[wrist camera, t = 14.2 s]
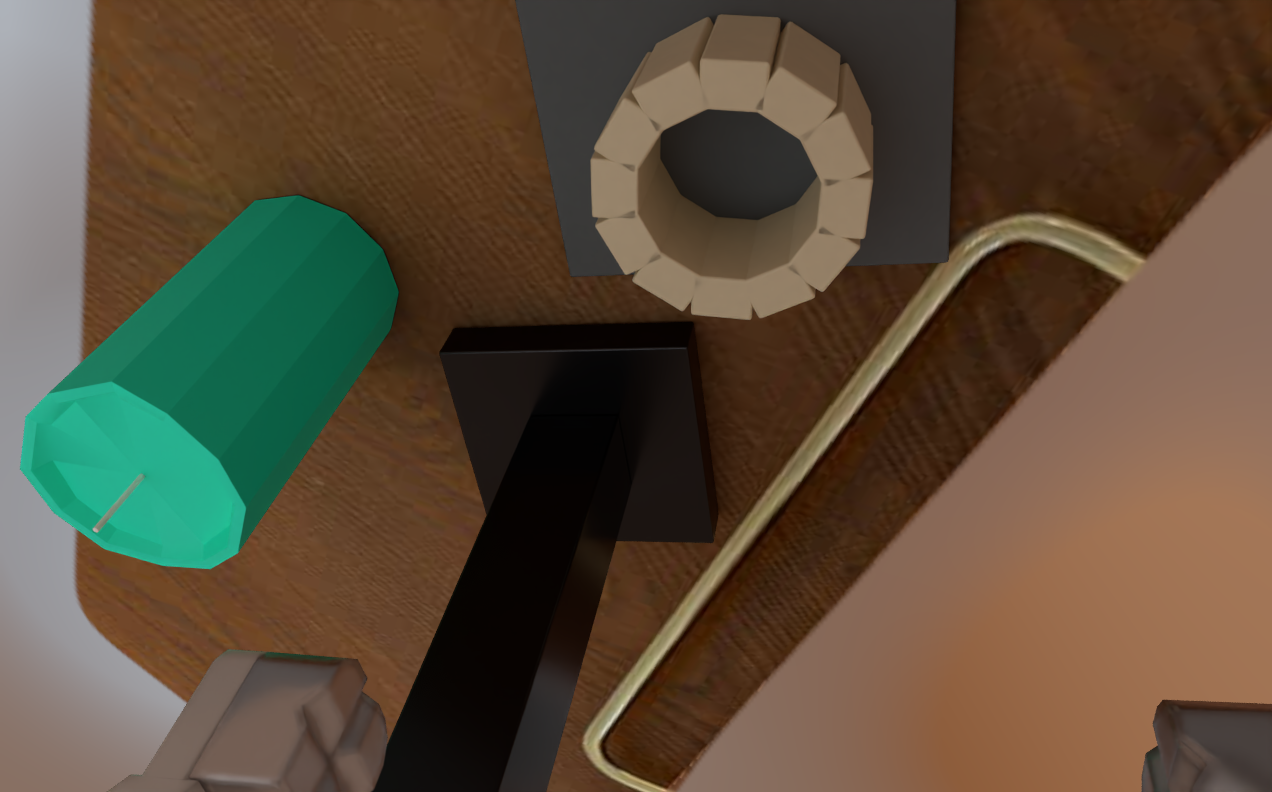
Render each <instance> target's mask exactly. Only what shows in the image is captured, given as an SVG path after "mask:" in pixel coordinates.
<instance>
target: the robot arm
mask: <svg viewBox="0 0 1272 792" xmlns="http://www.w3.org/2000/svg"><path fill="white" fill-rule="evenodd" d="M366 681H367V676H366V675H365V673H364V671H363V669H362V667H361V665H360V663H359V661H358V659H351V658H338V657H325V656H313V655H300V654H287V653H274V652H262V651H245V650H227V651H225V652H224V653H223V654H222V655H220V656H219V657H218V658H216V659H215V660H214V661H213V663H212V664H211V666H210V667H209V669H208V671H207V672H206V674H205V675H204V677H203V679H202V680H201V682H200V683H199V685H198V687H197V688H196V690H195V692H194V693H193V695H192V696H191V698H190V700H189V701H188V703H187V704H186V706H185V708H184V709H183V711H182V713H181V714H180V716H179V717H178V719H177V720H176V722H175V724H174V725H173V727H172V729H171V730H170V732H169V733H168V735H167V737H166V738H165V740H164V742H163V743H162V745H161V746H160V748H159V749H158V751H157V753H156V754H155V756H154V758H153V759H152V761H151V762H150V764H149V765H148V767H147V769H146V770H145V772H144V774H143V775H129V776H128V777H127V778H125V779H124V780H122V781H121V782H120V783H118V784H117V785H116V786H114V787H113V788H111V789H110V790H109V791H107V792H371V791H372V790H373V789H374V788H375V785H376V783H377V780H378V778H379V775H380V773H381V770H382V768H383V765H384V759H385V752H386V745H387V738H388V737H387V729H386V722H385V717H384V715H383V713H382V710H381V708H380V705H379V704H378V703H377V702H375V701H374V700H373V699H371V698H370V697H369V696H367V695H366V694H365V693H363V692H362V689H363V687H364V685H365V683H366ZM1153 727H1154V731H1155V735H1156V740H1157V744H1158V746H1156V747H1155V748H1153V749H1152V750H1150V751H1149V752H1147V753H1146V755H1145V761H1144V766H1143V772H1142V792H1272V704H1257V703H1231V702H1206V701H1180V700H1162V702H1161V703H1160V704H1159V705H1158V706H1157V709H1156V713H1155V717H1154V721H1153Z"/></svg>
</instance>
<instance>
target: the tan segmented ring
mask: <svg viewBox="0 0 1272 792" xmlns="http://www.w3.org/2000/svg"><path fill="white" fill-rule="evenodd" d="M780 26H781V20H780V18H778V17H761V16H742V15H723V14H721V15H718V17H717V19H716V22H715V24H714V25H713V23H712V21H711V19H710V18H709V17H706V18H704V19H702V20H700V21H698V22H696V23H694V24H692V25H691V26H689V27H687V28H685V29H683V30H681V31H679V32H677V33H675V34H673V35H672V36H670V37H668V38H666V39H664V40H662V41H660V42H658V43H657V44H656V45H655V47H654V49H653V51H652V52H648V53H647V54H646V55H645V57H644V59H643V60H642V62H641V64H640V65H639V67H638V69H637V70H636V72H635V74H634V75H633V77H632V79H631V81H630V82H629V84H628V86H627V87H626V89H625V91H624V92H623V94H622V96H621V97H620V99H619V101H618V103H617V105H616V107H615V109H614V110H613V112H612V114H611V116H610V118H609V120H608V122H607V124H606V125H605V127H604V129H603V131H602V133H601V135H600V137H599V139H598V140H597V142H596V144H595V146H594V150H595V152H594V154H593V156H592V158H591V160H590V161H591V196H592V216H593V217H597V218H598V220H597V222H596V224H595V227H596V228H597V230H598V232H599V233H600V235H601V237H602V238H603V240H604V241H605V243H606V245H607V246H608V248H609V249H610V251H611V253H612V254H613V256H614V257H615V259H616V261H617V262H618V264H619V266H620V267H621V269H622V270H623V272H624V274H625V275H627V274H630V273H632V272H634V271H635V274H634V277H633V280H632V281H633V282H634V283H636V284H637V285H639V286H641V287H642V288H644V289H646V290H647V291H649V292H651V293H652V294H654V295H656V296H657V297H659V298H661V299H662V300H664V301H666V302H667V303H669V304H671V305H672V306H674V307H675V308H677V309H679V310H680V311H684V310H685V309H686V307H687V306H688V305H689V303H690V302H691V313H692V314H693V315H702V316H713V317H723V318H734V319H744V320H750V319H751V318H752V313H753V308H754V310H755V311H756V313H757V315H758V317H759V318H763V317H766V316H769V315H771V314H774V313H776V312H779V311H782V310H784V309H787V308H789V307H792V306H795V305H797V304H800V303H803V302H805V301H808V300H810V299H813V298H814V297H815V290H816V289H818V290H819V291H821V292H823V291H824V290H825V289H826V288H827V287H828V286H829V285H830V283H831V282H832V281H833V280H834V279H835V277H836V276H837V275H838V274H839V273H840V272H841V270H842V269H843V268H844V267H845V266H846V264H847V263H848V262H849V261H850V260H851V259H852V257H853V256H854V255H855V254H856V253H857V251H858V250H859V249H860V239H864V238H865V235H866V228H867V221H868V214H869V207H870V200H871V193H872V186H873V125H871V113H870V110H869V108H868V106H867V104H866V102H865V99H864V97H863V95H862V93H861V91H860V88H859V86H858V84H857V82H856V80H855V77H854V75H853V73H852V71H851V69H850V66H849V64H847V63H844V64H842V65H840V57H841V55H840V54H839V53H838V52H836V51H835V50H833V49H832V48H830V47H829V46H827V45H826V44H824V43H823V42H821V41H820V40H818V39H817V38H815V37H814V36H812V35H811V34H809V33H808V32H806V31H805V30H803V29H802V28H800V27H799V26H797V25H796V24H794V23H793V22H788V23H787V24H786V26H785V27H784V29H783V30H782V32H781V33H780ZM707 109H713V110H728V111H744V112H758V113H759V114H761V115H762V116H764V117H765V118H767V119H769V120H770V121H772V122H773V123H775V124H776V125H778V126H779V127H781V128H782V129H784V130H785V131H787V132H789V133H790V134H792V135H793V136H795V137H796V138H798V139H799V140H800V141H801V143H802V145H803V147H804V149H805V151H806V153H807V155H808V157H809V159H810V161H811V163H812V165H813V167H814V169H815V171H816V173H817V175H818V176H817V177H816V179H815V180H814V181H813V183H812V184H811V185H810V187H809V188H808V189H807V190H806V192H805V193H804V194H803V196H802V197H801V198H800V199H799V201H798V202H797V203H796V204H795V205H792V206H790V207H788V208H785V209H783V210H781V211H778V212H776V213H774V214H771V215H769V216H767V217H764V218H762V219H760V220H750V219H737V218H725V217H716V216H714V215H712V214H711V213H709V212H708V211H706V210H704V209H703V208H701V207H700V206H698V205H696V204H695V203H693V202H692V201H690V200H688V199H687V198H685V197H683V196H682V195H681V194H680V193H679V191H678V189H677V187H676V186H675V184H674V182H673V180H672V179H671V177H670V175H669V173H668V172H667V170H666V168H665V166H664V165H663V163H662V161H661V159H660V140H661V133H662V132H663V131H664V130H666V129H668V128H670V127H672V126H674V125H676V124H678V123H680V122H682V121H684V120H686V119H688V118H690V117H692V116H694V115H697V114H699V113H701V112H703V111H705V110H707Z"/></svg>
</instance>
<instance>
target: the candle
mask: <svg viewBox="0 0 1272 792" xmlns="http://www.w3.org/2000/svg"><path fill="white" fill-rule="evenodd" d="M398 294H399V291H398V288H397V285H396V283H395V280H394V277H393V275H392V272H391V269H390V267H389V264H388V261H387V259H386V256H385V253H384V251H383V249H382V248H381V247H380V246H379V245H378V244H377V243H376V242H375V241H374V240H373V239H372V238H371V237H370V236H369V235H368V234H367V233H366V232H365V231H364V230H363V229H362V228H361V227H360V226H359V225H358V224H357V223H356V222H355V221H353V220H352V219H351V218H350V217H349V216H348V215H347V214H346V213H344V212H341V211H339V210H336V209H334V208H331V207H328V206H326V205H323V204H320V203H318V202H315V201H313V200H310V199H307V198H305V197H302V196H300V195H296V196H288V197H279V198H271V199H263V200H255V201H254V202H253V203H252V204H251V205H250V206H249V207H247V208H246V209H245V210H244V211H243V212H242V213H241V214H240V215H239V216H238V217H237V218H236V219H235V220H234V221H232V222H231V223H230V224H229V225H228V226H227V227H226V228H225V229H224V230H223V231H222V232H221V233H220V234H219V235H217V236H216V237H215V238H214V239H213V240H212V241H211V242H210V243H209V244H208V245H207V246H206V247H205V248H204V249H202V250H201V251H200V252H199V253H198V254H197V255H196V256H195V257H194V258H193V259H192V260H191V261H190V262H189V263H188V264H186V265H185V266H184V267H183V268H182V269H181V270H180V271H179V272H178V273H177V274H176V275H175V276H174V277H173V278H171V279H170V280H169V281H168V282H167V283H166V284H165V285H164V286H163V287H162V288H161V289H160V290H159V291H158V292H156V293H155V294H154V295H153V296H152V297H151V298H150V299H149V300H148V301H147V302H146V303H145V304H144V305H143V306H141V307H140V308H139V309H138V310H137V311H136V312H135V313H134V314H133V315H132V316H131V317H130V318H129V319H128V320H126V321H125V322H124V323H123V324H122V325H121V326H120V327H119V328H118V329H117V330H116V331H115V332H114V333H113V334H111V335H110V336H109V337H108V338H107V339H106V340H105V341H104V342H103V343H102V344H101V345H100V346H99V347H98V348H96V349H95V350H94V351H93V352H92V353H91V354H90V355H89V356H88V357H87V358H86V359H85V360H84V361H83V362H81V363H80V364H79V365H78V366H77V367H76V368H75V369H74V370H73V371H72V372H71V373H70V374H69V375H68V376H67V377H65V379H63V380H62V381H61V382H60V383H59V384H58V385H57V386H56V387H55V388H54V389H53V390H52V391H50V392H49V393H48V394H47V396H45V397H44V398H43V399H42V400H41V402H39V404H38V405H37V406H36V407H35V408H34V409H33V410H32V411H31V412H30V413H29V414H28V415H27V416H26V419H25V428H24V436H23V446H22V455H21V465H20V470H21V471H22V472H23V474H24V475H25V476H26V477H27V479H28V480H29V481H30V482H31V484H32V485H33V486H34V488H35V489H36V490H37V492H38V493H39V494H40V496H41V497H42V498H43V499H44V501H45V502H46V503H47V505H48V506H49V507H50V509H51V510H52V511H53V512H54V513H55V514H56V515H58V516H59V517H61V518H62V519H63V520H65V521H66V522H67V523H69V524H70V525H72V526H73V527H74V528H76V529H77V530H78V531H80V532H81V533H83V534H84V535H85V536H87V537H88V538H90V539H91V540H92V541H94V542H95V543H97V544H98V545H99V546H101V547H102V548H104V549H106V550H109V551H113V552H117V553H120V554H124V555H127V556H131V557H134V558H138V559H141V560H145V561H148V562H152V563H155V564H159V565H162V566H174V567H189V568H203V569H211V568H213V567H214V566H216V565H218V564H220V563H222V562H223V561H225V560H227V559H229V558H230V557H232V556H234V555H236V554H237V553H238V552H239V551H240V549H241V548H242V546H243V545H244V543H245V542H246V541H247V539H248V538H249V536H250V535H251V533H252V532H253V530H254V529H255V527H256V526H257V524H258V523H259V521H260V520H261V519H262V517H263V516H264V514H265V513H266V511H267V510H268V508H269V507H270V505H271V504H272V502H273V501H274V500H275V498H276V497H277V495H278V494H279V492H280V491H281V489H282V488H283V486H284V485H285V483H286V482H287V480H288V479H289V478H290V476H291V475H292V473H293V472H294V470H295V469H296V467H297V466H298V464H299V463H300V461H301V460H302V459H303V457H304V456H305V454H306V453H307V451H308V450H309V448H310V447H311V445H312V444H313V442H314V441H315V440H316V438H317V437H318V435H319V434H320V432H321V431H322V429H323V428H324V426H325V425H326V423H327V422H328V420H329V419H330V418H331V416H332V415H333V413H334V412H335V410H336V409H337V407H338V406H339V404H340V403H341V401H342V400H343V399H344V397H345V396H346V394H347V393H348V391H349V390H350V388H351V387H352V385H353V384H354V382H355V381H356V380H357V378H358V377H359V375H360V374H361V372H362V371H363V369H364V368H365V366H366V365H367V363H368V362H369V360H370V359H371V358H372V356H373V355H374V353H375V352H376V350H377V349H378V347H379V346H380V344H381V343H382V341H383V340H384V339H385V337H386V336H387V334H388V333H389V331H390V330H391V326H392V322H393V317H394V313H395V308H396V304H397V299H398Z"/></svg>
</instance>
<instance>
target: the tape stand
mask: <svg viewBox="0 0 1272 792" xmlns="http://www.w3.org/2000/svg"><path fill="white" fill-rule="evenodd" d="M439 354H440V358H441V361H442V364H443V368H444V371H445V375H446V378H447V382H448V385H449V388H450V392H451V395H452V399H453V402H454V405H455V409H456V412H457V416H458V419H459V422H460V426H461V429H462V433H463V436H464V439H465V443H466V446H467V450H468V453H469V456H470V460H471V463H472V467H473V470H474V473H475V477H476V480H477V484H478V487H479V490H480V494H481V497H482V501H483V504H484V508H485V511H486V514H487V516H486V518H485V520H484V523H483V525H482V527H481V529H480V532H479V534H478V536H477V539H476V541H475V543H474V546H473V548H472V550H471V553H470V555H469V557H468V559H467V562H466V564H465V566H464V569H463V571H462V573H461V576H460V578H459V580H458V583H457V585H456V587H455V589H454V592H453V594H452V596H451V599H450V601H449V603H448V606H447V608H446V610H445V613H444V615H443V617H442V619H441V622H440V624H439V626H438V629H437V631H436V633H435V636H434V638H433V640H432V643H431V645H430V647H429V649H428V652H427V654H426V656H425V659H424V661H423V663H422V666H421V668H420V670H419V673H418V675H417V677H416V679H415V682H414V684H413V686H412V689H411V691H410V693H409V696H408V698H407V700H406V703H405V705H404V707H403V709H402V712H401V714H400V716H399V719H398V721H397V723H396V726H395V728H394V730H393V732H392V735H391V737H390V739H389V742H388V744H387V746H386V752H385V759H384V765H383V768H382V770H381V773H380V775H379V778H378V780H377V783H376V785H375V788H374V789H373V790H372V791H371V792H546V790H547V787H548V783H549V780H550V776H551V773H552V769H553V765H554V762H555V758H556V755H557V751H558V748H559V744H560V740H561V737H562V733H563V730H564V726H565V723H566V719H567V715H568V712H569V708H570V705H571V701H572V698H573V694H574V690H575V687H576V683H577V680H578V676H579V673H580V669H581V665H582V662H583V658H584V655H585V651H586V648H587V644H588V640H589V637H590V633H591V630H592V626H593V623H594V619H595V615H596V612H597V608H598V605H599V601H600V598H601V594H602V590H603V587H604V583H605V580H606V576H607V573H608V569H609V565H610V562H611V558H612V555H613V551H614V548H615V544H616V541H645V542H694V543H713V542H714V537H715V531H716V526H717V520H718V507H717V499H716V491H715V483H714V476H713V468H712V460H711V452H710V444H709V437H708V429H707V421H706V413H705V406H704V398H703V390H702V382H701V374H700V367H699V359H698V351H697V343H696V336H695V328H694V323H693V322H667V323H630V324H594V325H557V326H521V327H485V328H455V329H453V330H452V332H451V334H450V335H449V337H448V339H447V340H446V342H445V344H444V345H443V347H442V349H441V350H440V352H439Z"/></svg>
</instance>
